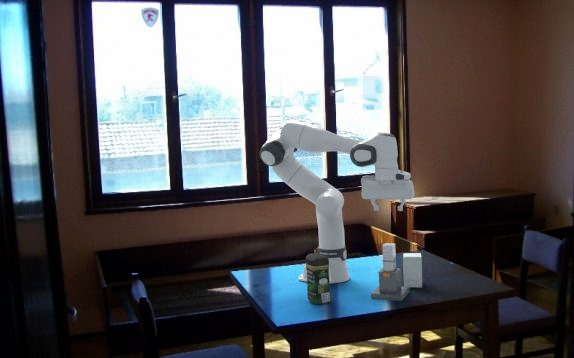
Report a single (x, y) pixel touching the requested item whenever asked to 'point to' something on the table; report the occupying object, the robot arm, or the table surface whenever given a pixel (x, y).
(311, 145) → the robot arm
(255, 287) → the table surface
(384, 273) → the stand
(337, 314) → the table surface
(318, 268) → the coffee jar
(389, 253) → the column
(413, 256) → the supplement box
